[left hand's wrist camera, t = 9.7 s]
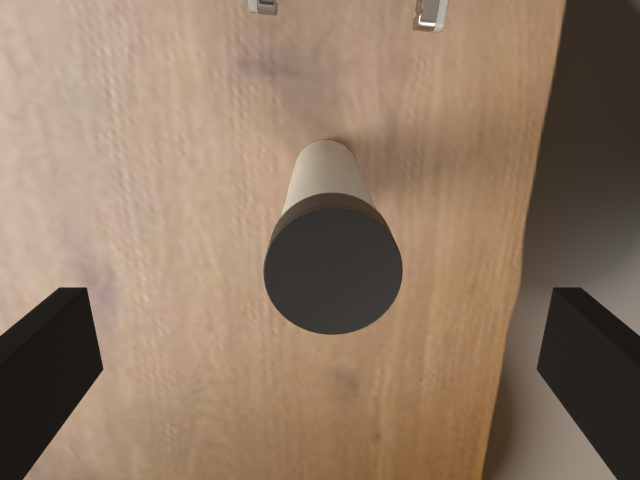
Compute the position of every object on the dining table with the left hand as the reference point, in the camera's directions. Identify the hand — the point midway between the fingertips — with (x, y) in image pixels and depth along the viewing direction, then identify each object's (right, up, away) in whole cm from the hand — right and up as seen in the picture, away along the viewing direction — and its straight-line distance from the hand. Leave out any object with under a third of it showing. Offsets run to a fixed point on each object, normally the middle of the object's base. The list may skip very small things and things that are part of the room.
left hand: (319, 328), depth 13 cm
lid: (0, +1, +4) cm, 5 cm away
